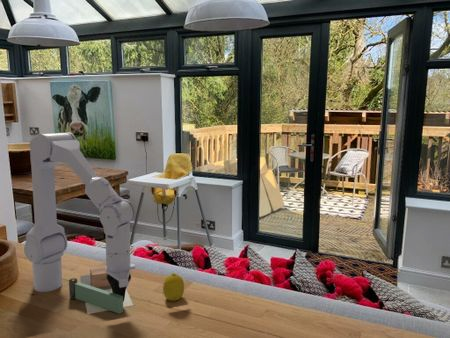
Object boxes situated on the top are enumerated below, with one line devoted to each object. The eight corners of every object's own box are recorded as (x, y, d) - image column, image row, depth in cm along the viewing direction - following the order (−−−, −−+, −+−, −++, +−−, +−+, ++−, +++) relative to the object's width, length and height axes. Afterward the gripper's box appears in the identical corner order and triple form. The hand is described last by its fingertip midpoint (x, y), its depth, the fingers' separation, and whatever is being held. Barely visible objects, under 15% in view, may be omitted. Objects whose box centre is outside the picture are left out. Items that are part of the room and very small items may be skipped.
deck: (80, 279, 111) (80, 276, 111) (118, 273, 116) (118, 270, 116) (87, 317, 91) (87, 314, 91) (133, 308, 96) (133, 305, 96)
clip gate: (79, 296, 98) (78, 282, 98) (123, 311, 92) (122, 296, 91) (75, 298, 97) (74, 283, 97) (119, 313, 91) (119, 298, 90)
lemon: (184, 296, 103) (185, 269, 101) (183, 307, 97) (183, 278, 96) (164, 296, 102) (164, 268, 101) (161, 307, 97) (161, 277, 96)
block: (90, 281, 108) (90, 267, 108) (108, 278, 110) (108, 265, 110) (92, 288, 104) (92, 275, 103) (111, 285, 106) (110, 272, 105)
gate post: (69, 300, 99) (68, 279, 98) (77, 299, 100) (76, 277, 99) (70, 304, 97) (69, 282, 96) (78, 302, 98) (77, 280, 97)
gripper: (141, 258, 88) (141, 312, 90) (128, 238, 100) (129, 286, 103) (109, 263, 84) (111, 319, 87) (101, 241, 97) (102, 291, 100)
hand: (119, 301), depth 94 cm, fingers closed
